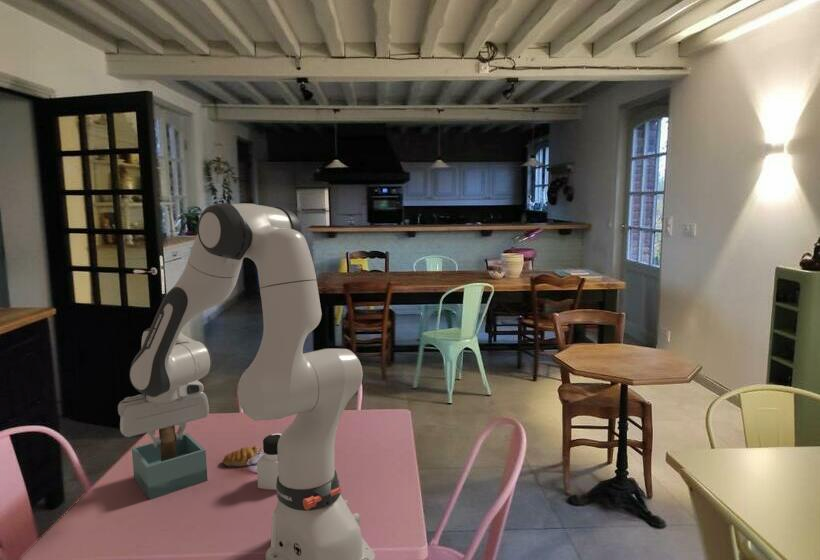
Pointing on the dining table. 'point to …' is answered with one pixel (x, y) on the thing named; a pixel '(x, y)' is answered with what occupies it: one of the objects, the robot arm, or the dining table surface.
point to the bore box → (169, 467)
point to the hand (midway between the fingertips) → (168, 442)
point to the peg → (167, 443)
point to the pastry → (240, 456)
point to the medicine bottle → (268, 463)
